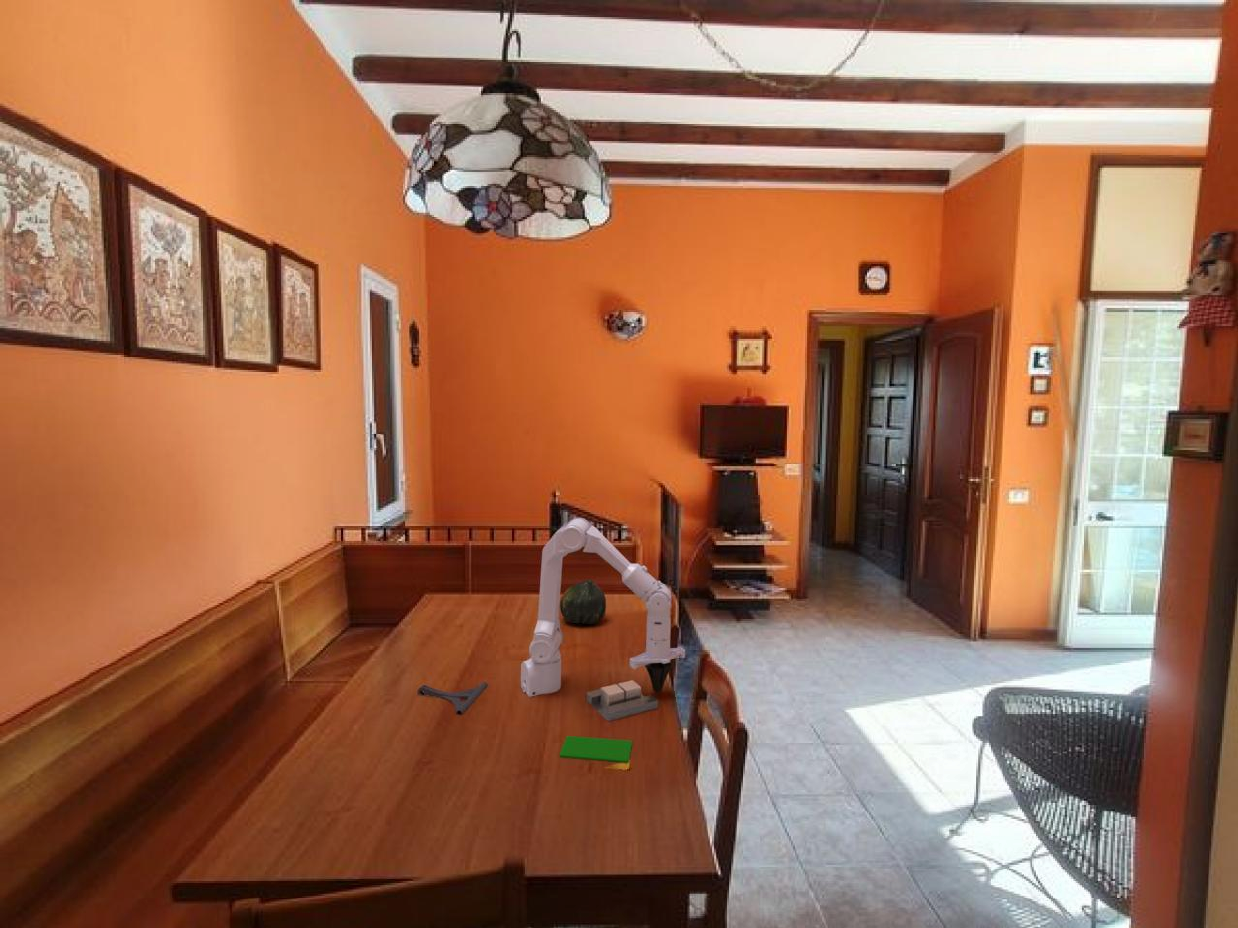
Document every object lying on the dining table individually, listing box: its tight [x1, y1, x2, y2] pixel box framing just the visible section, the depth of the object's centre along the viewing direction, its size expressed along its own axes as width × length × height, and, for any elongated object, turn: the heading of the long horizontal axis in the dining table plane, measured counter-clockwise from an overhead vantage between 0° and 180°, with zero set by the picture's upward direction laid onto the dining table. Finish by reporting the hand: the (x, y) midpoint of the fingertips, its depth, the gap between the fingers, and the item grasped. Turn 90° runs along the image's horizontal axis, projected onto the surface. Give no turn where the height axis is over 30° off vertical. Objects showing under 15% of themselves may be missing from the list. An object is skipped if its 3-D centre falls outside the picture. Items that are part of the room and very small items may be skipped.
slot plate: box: [586, 680, 659, 722], centre depth 140 cm, size 13×11×3 cm
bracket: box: [417, 681, 488, 715], centre depth 145 cm, size 14×15×3 cm
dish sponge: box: [558, 735, 633, 771], centre depth 121 cm, size 7×14×2 cm, turn 83°
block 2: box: [617, 679, 642, 702], centre depth 140 cm, size 4×4×4 cm
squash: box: [559, 579, 607, 626], centre depth 196 cm, size 14×15×15 cm
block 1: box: [600, 683, 624, 707], centre depth 138 cm, size 4×4×4 cm
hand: (657, 690), depth 144 cm, fingers closed
